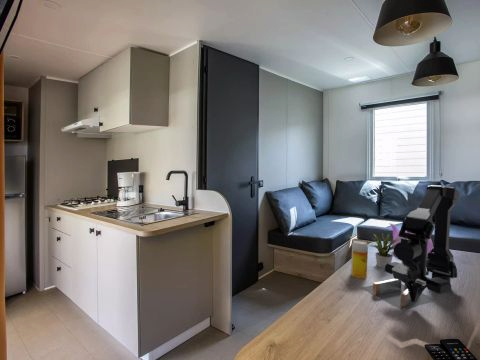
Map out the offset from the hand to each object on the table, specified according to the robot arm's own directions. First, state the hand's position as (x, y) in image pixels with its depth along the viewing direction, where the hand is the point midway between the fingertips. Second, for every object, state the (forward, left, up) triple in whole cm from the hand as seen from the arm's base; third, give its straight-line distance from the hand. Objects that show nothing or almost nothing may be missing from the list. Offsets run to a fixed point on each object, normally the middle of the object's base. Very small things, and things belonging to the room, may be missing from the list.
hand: (413, 301), depth 91 cm
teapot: (-55, -41, -3) cm, 68 cm away
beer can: (-4, -27, -3) cm, 27 cm away
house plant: (-23, -30, -3) cm, 38 cm away
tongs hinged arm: (-4, -6, -2) cm, 8 cm away
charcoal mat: (-4, -9, -3) cm, 10 cm away
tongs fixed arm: (-1, -11, -2) cm, 11 cm away
